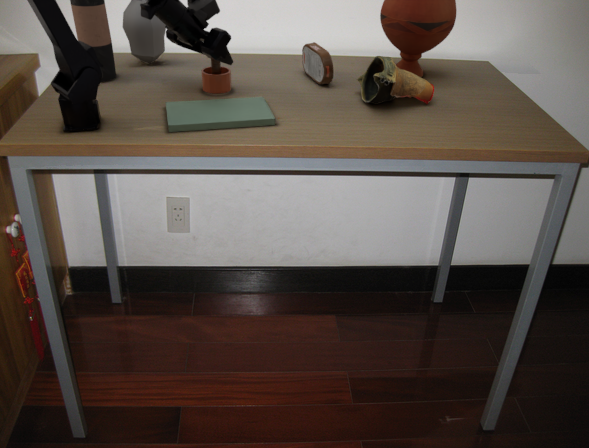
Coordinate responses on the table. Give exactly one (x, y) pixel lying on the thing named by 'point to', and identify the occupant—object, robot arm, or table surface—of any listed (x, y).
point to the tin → (317, 63)
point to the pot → (392, 83)
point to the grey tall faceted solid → (143, 33)
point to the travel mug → (95, 32)
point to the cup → (216, 80)
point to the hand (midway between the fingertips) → (220, 58)
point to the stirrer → (215, 67)
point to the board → (218, 114)
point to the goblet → (416, 27)
